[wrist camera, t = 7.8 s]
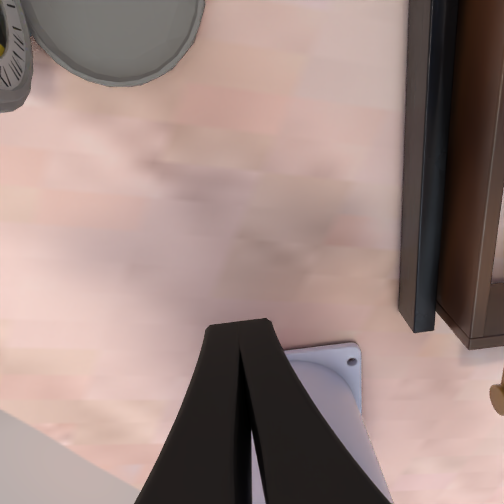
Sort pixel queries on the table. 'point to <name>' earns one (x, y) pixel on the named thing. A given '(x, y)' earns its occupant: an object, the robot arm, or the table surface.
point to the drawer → (475, 184)
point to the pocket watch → (94, 40)
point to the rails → (425, 155)
